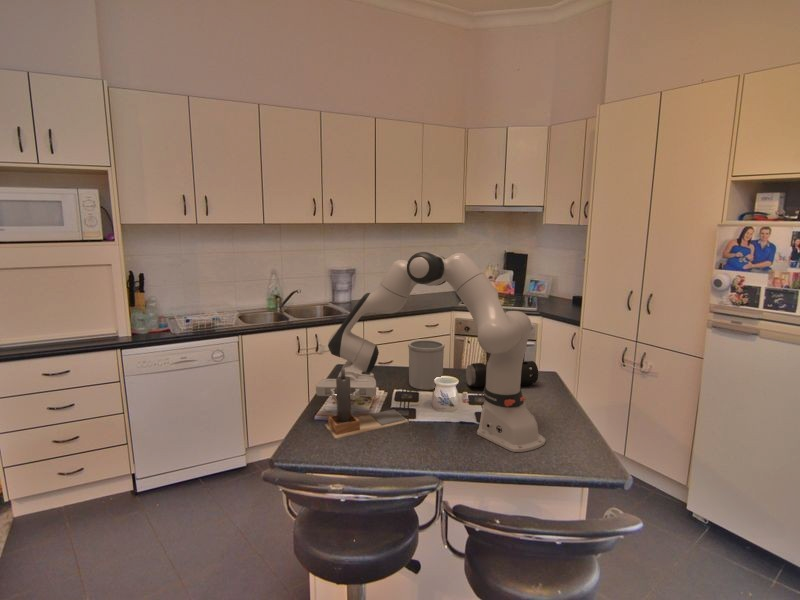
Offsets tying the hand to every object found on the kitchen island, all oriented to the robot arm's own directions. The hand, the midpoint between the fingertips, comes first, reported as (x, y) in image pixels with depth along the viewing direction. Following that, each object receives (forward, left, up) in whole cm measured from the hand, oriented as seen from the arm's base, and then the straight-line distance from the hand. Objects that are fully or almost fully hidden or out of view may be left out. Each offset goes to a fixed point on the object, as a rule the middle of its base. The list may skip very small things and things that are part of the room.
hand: (343, 397), depth 150 cm
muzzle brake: (+9, -72, -13) cm, 74 cm away
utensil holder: (+25, -46, -13) cm, 54 cm away
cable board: (0, -8, -12) cm, 15 cm away
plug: (+1, 0, -8) cm, 8 cm away
